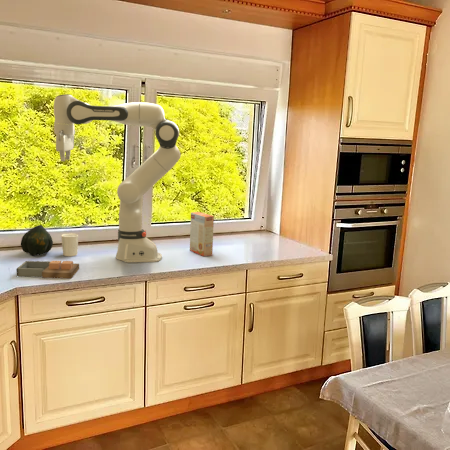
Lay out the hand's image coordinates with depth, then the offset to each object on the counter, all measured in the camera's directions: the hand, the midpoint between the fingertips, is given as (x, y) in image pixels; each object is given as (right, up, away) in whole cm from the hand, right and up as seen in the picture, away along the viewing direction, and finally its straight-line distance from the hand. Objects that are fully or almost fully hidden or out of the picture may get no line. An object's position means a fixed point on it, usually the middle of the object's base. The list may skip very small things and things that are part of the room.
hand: (65, 160), depth 226 cm
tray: (-7, -51, -18) cm, 54 cm away
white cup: (-2, -45, +13) cm, 47 cm away
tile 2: (+7, -49, -17) cm, 52 cm away
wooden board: (+4, -51, -17) cm, 54 cm away
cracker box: (+62, -45, +26) cm, 81 cm away
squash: (-18, -45, +12) cm, 50 cm away
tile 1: (+2, -49, -18) cm, 52 cm away
